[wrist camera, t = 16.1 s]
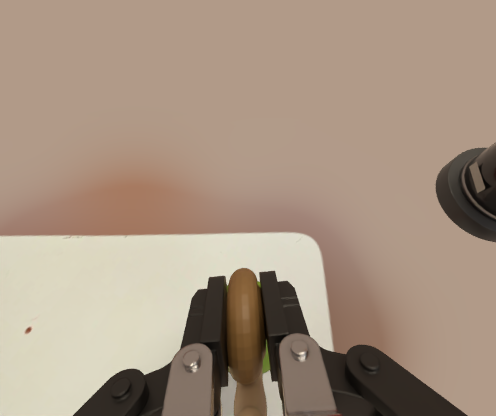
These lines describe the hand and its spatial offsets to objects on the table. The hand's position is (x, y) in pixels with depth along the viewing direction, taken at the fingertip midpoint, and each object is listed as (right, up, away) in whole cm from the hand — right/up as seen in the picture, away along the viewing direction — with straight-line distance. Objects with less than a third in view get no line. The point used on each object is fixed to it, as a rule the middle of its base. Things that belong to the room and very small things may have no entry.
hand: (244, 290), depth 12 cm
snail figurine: (0, -5, +7) cm, 8 cm away
